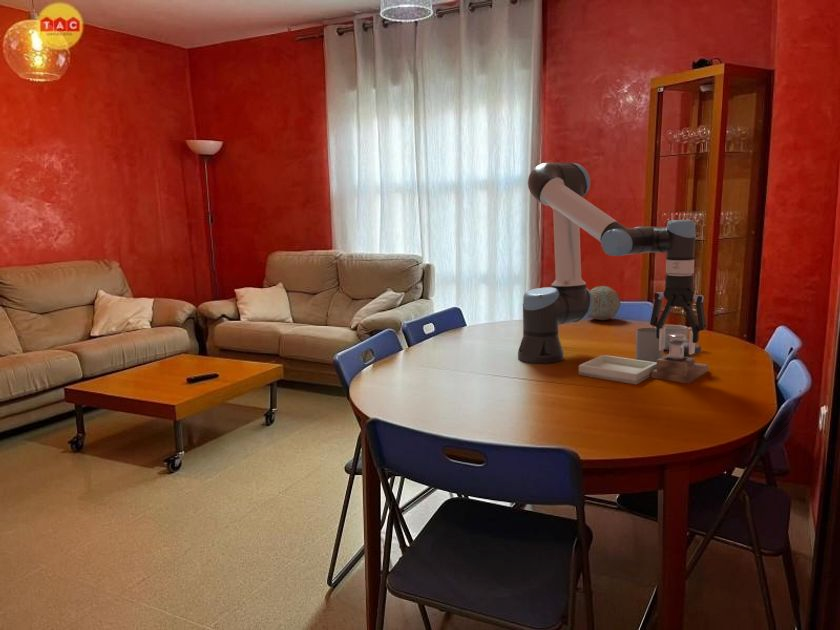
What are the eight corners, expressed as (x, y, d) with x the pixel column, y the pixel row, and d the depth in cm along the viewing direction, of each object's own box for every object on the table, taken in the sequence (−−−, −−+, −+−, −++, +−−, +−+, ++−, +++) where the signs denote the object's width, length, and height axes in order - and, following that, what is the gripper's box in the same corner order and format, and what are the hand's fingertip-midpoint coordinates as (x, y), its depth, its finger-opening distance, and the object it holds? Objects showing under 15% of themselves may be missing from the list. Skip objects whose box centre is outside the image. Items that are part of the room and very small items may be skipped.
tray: (578, 374, 193) (578, 365, 192) (602, 363, 205) (602, 354, 204) (636, 384, 181) (636, 374, 180) (658, 372, 193) (658, 362, 192)
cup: (664, 363, 203) (665, 332, 201) (637, 363, 204) (638, 332, 203) (660, 357, 211) (661, 327, 209) (634, 356, 212) (635, 327, 211)
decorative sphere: (585, 323, 271) (586, 288, 269) (582, 316, 286) (583, 283, 283) (622, 323, 269) (623, 288, 266) (617, 316, 283) (618, 283, 281)
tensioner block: (651, 377, 188) (651, 351, 186) (672, 365, 200) (673, 340, 199) (689, 383, 180) (690, 356, 179) (709, 370, 193) (710, 344, 191)
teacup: (653, 351, 219) (654, 328, 218) (654, 344, 229) (655, 322, 228) (697, 353, 214) (698, 330, 212) (696, 346, 224) (697, 324, 222)
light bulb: (663, 370, 187) (664, 336, 185) (670, 367, 191) (671, 333, 189) (681, 373, 183) (683, 338, 181) (687, 369, 187) (689, 335, 185)
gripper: (639, 273, 186) (636, 349, 190) (713, 277, 172) (709, 358, 176) (649, 271, 192) (646, 344, 196) (722, 274, 178) (718, 353, 182)
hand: (676, 351), depth 186 cm, fingers open, 8 cm apart
